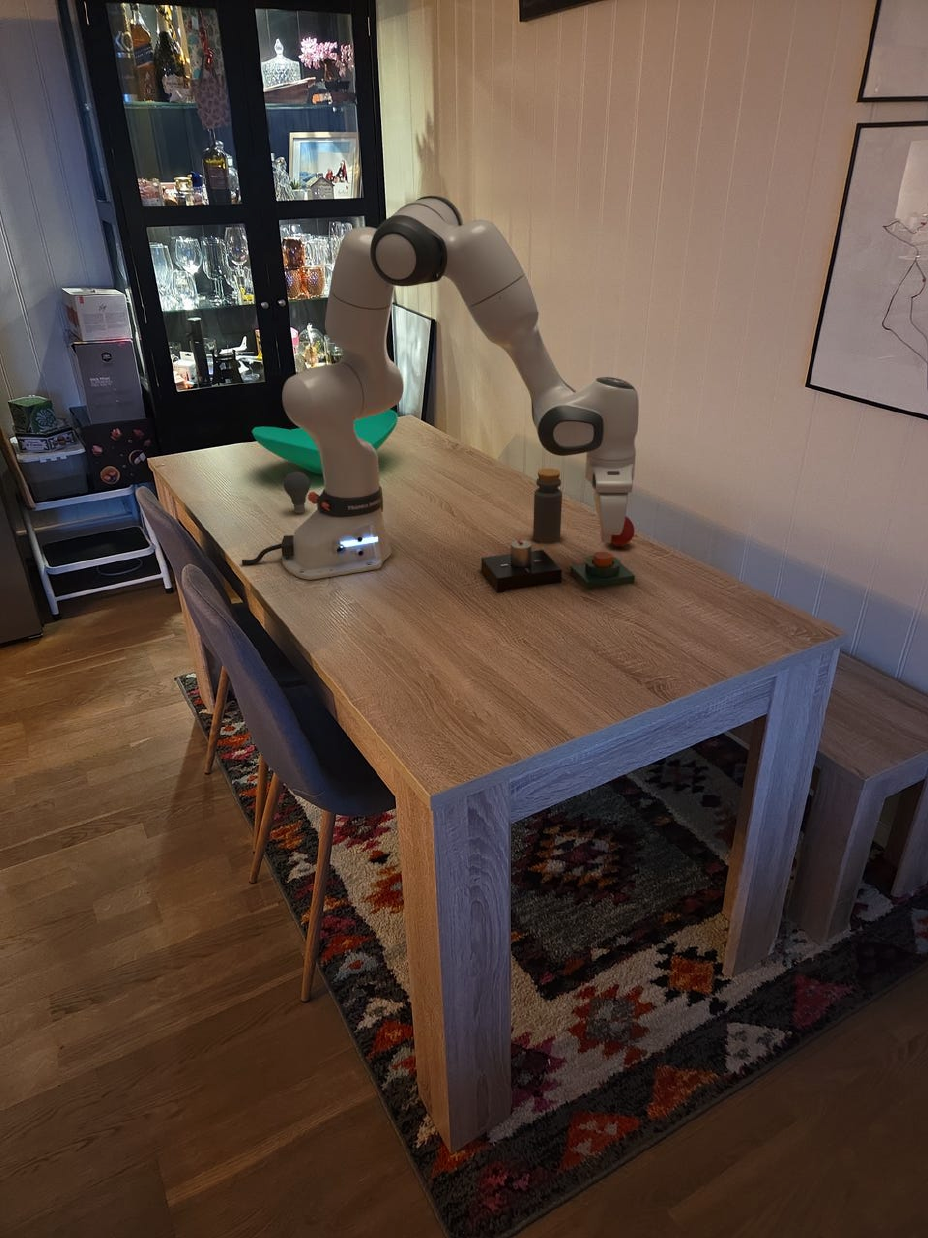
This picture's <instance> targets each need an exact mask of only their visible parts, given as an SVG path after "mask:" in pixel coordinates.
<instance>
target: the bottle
mask: <svg viewBox="0 0 928 1238" xmlns="http://www.w3.org/2000/svg"><path fill="white" fill-rule="evenodd" d="M537 476H538V477H537V479H536V481H535V482H536V483H535V484H536V486H537V487H538V488H537V489H535V490H534V495H533V523H532V524H533V525H532V539H533V541H535V542H536V543H540V544H554V543H557V542H559V541H560V540H561V530H562V529H561V527H562V526H561V525H562V506H563V504H562V503H563V492H562V490H561V489H559V487H561V485H562V479H561V478H560V476H561V471H560V470H559V469H556V468H541V469H538V471H537Z"/></svg>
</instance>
